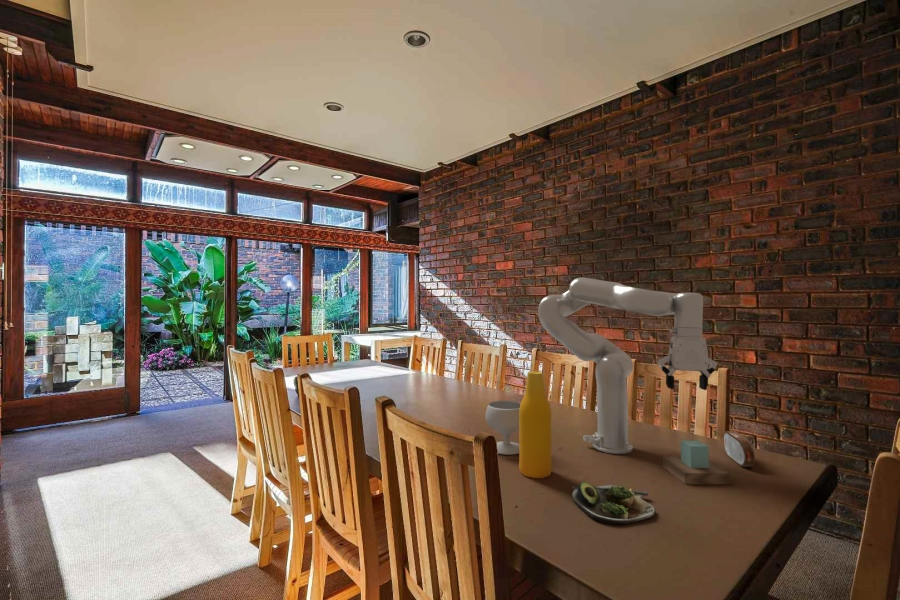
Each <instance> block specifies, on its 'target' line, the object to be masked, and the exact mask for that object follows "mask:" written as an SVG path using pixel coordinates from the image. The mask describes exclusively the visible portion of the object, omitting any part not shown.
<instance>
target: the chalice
mask: <svg viewBox="0 0 900 600" xmlns="http://www.w3.org/2000/svg"><path fill="white" fill-rule="evenodd" d="M520 404H521V402H518V401H515V400H514V401H513V400H496V401H491V402H489V404H488V405H487V407H486V411H485V415H484V416H485V417H484V418H485V419H484V420H485V421H486V423H487V426H489V427H490V428H492V429H493V430H496V431H497V432H499V433H500V434H501V436H502V437H503V441H496V442H497V449H498V453H497V454H498V455H505V456H507V455H508V456H510V455H511V456H512V455H518V454H519V443H518V442H513V441H510V437H511V435H512V434H513V433H515V432H517V431H519V409H520Z"/></svg>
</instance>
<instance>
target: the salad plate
mask: <svg viewBox="0 0 900 600" xmlns="http://www.w3.org/2000/svg"><path fill="white" fill-rule="evenodd" d="M571 489H573V491H572V493H571V497H572V501H574V503H575V505H576V506H577V507H578V508H579V509H580V510H581V511H582V512H583V513H584V514H585V516H587V517H588V518H591V519H592V520H594V521H597V522H599V523H602V524H607V525H626V524H630V523H631V524H632V523H636V522H639V521H642V520H646V519H649V518H651V517H653V516H654V515H655V513H656V508H655V507H654V506H653V505H652V504H650V503H649V502H647V501H645V500H644V499H643V497H644V498H645V497H648V496H649V492H647V491H639V490H633V488H631V487H630V488H629V489H626V487H625V486H622V487H621V486H617V485H612V484H611V485H600V486H594V485H593V484H591V483H590V482H587V481H581V482H580V483H579V484H578V485H572V486H571ZM632 508H633V509H635V510H637V511H639V514H638V516H636V517H633V518H629V512H628V511H629V510H631V509H632Z"/></svg>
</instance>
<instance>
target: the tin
mask: <svg viewBox="0 0 900 600" xmlns="http://www.w3.org/2000/svg"><path fill="white" fill-rule="evenodd" d="M722 436H723V439H722V440H723V448H724V451H725V453H726V454H727V457H729V458H730V459H731V460H732V461H733V462H735V463H736V464H737V465H738V466H739V467H742V468H753V467H754V465H755V462H756V457H755V452H754V448H753V445H752V443H751V442H750V441H749V439H747V437H745V436H743V435H742V434H740V433H739V432H737V431H736V430H728V431H727V430H725V431H724V432H723V434H722Z"/></svg>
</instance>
